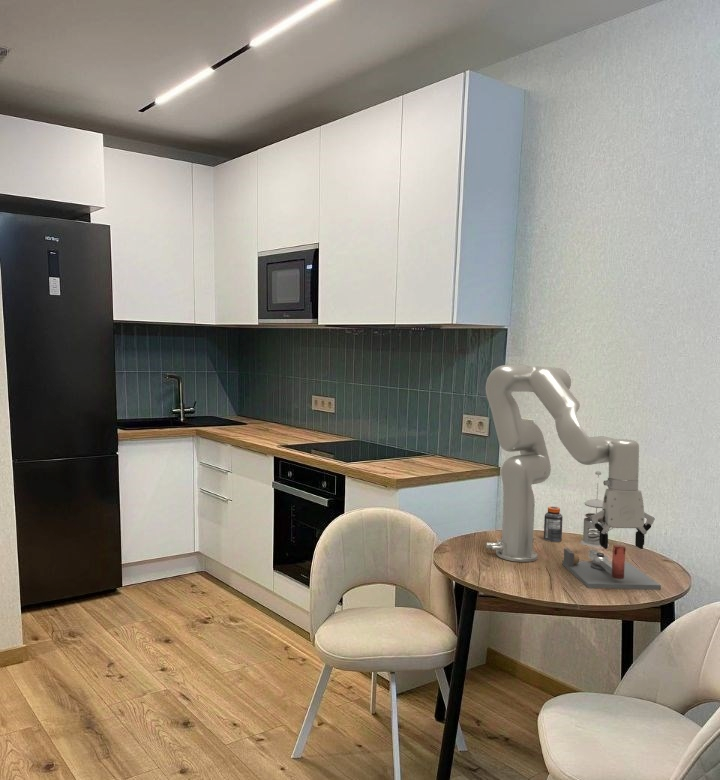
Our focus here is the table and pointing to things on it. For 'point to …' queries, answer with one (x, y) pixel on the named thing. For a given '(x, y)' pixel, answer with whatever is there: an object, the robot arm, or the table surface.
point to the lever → (613, 568)
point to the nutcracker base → (606, 574)
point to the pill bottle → (553, 525)
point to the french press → (592, 538)
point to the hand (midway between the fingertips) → (621, 547)
